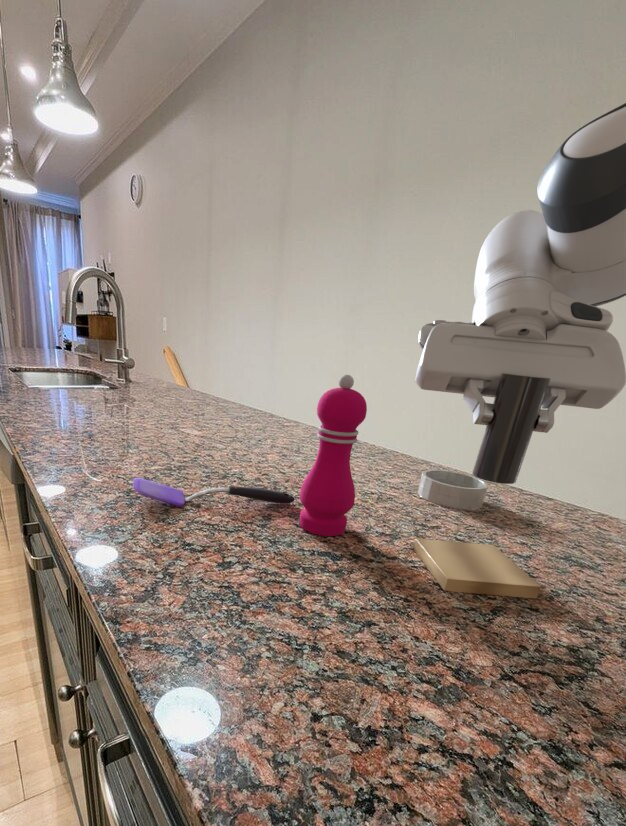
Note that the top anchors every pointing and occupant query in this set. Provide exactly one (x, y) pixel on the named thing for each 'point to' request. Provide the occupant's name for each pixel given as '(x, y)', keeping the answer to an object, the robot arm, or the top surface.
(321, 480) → the pepper mill
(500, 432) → the black canister
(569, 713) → the top surface
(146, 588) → the top surface
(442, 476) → the pan
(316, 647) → the top surface
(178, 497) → the spatula
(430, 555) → the board
